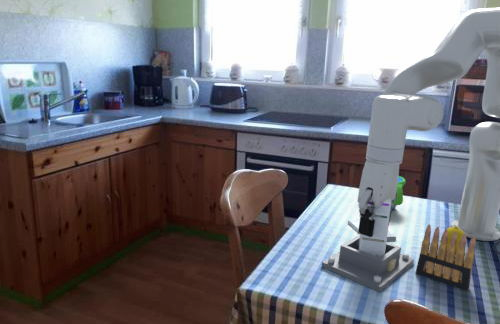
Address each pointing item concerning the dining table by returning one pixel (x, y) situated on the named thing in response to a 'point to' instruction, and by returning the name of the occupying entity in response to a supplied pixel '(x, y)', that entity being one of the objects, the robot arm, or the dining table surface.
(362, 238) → the syrup box
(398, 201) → the snack cup
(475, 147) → the robot arm
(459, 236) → the lemon
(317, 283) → the dining table surface
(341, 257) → the frame
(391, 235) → the hard drive
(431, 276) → the ammunition clip
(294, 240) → the dining table surface
